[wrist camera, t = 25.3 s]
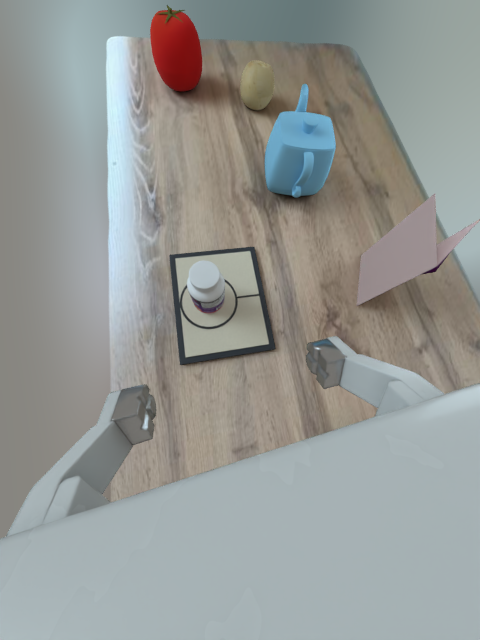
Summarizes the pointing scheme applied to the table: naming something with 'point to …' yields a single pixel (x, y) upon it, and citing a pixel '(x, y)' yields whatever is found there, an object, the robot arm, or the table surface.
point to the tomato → (176, 49)
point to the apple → (257, 85)
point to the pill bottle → (206, 287)
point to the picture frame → (235, 315)
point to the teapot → (299, 151)
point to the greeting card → (405, 252)
